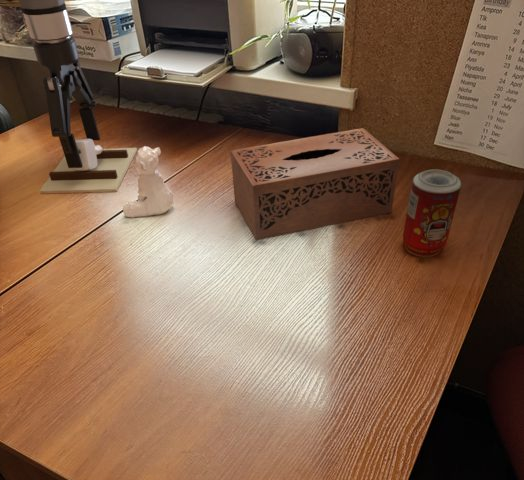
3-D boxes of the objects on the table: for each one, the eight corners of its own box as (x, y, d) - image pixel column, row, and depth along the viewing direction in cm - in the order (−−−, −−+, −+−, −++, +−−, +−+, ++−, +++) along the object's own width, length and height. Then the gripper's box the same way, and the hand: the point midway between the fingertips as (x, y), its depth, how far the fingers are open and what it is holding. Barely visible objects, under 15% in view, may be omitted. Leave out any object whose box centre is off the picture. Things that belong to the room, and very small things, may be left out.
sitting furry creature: (146, 193, 101) (132, 133, 92) (185, 199, 99) (174, 137, 90) (122, 217, 95) (105, 154, 86) (162, 223, 92) (149, 160, 84)
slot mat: (40, 193, 103) (36, 184, 101) (69, 152, 117) (66, 143, 116) (116, 191, 102) (114, 182, 101) (137, 150, 116) (135, 141, 115)
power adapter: (88, 164, 114) (83, 136, 111) (109, 163, 114) (104, 135, 111) (69, 171, 104) (63, 141, 101) (92, 171, 104) (86, 140, 101)
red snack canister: (415, 263, 80) (429, 191, 72) (393, 240, 85) (404, 171, 76) (453, 254, 82) (472, 182, 73) (430, 232, 86) (445, 163, 78)
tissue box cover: (256, 240, 87) (252, 185, 80) (234, 201, 97) (230, 150, 90) (391, 212, 92) (399, 158, 85) (358, 178, 102) (362, 127, 94)
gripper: (54, 22, 101) (84, 130, 116) (5, 58, 83) (48, 180, 98) (91, 21, 100) (116, 129, 115) (49, 57, 83) (85, 179, 98)
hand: (85, 153), depth 107 cm, fingers open, 13 cm apart
